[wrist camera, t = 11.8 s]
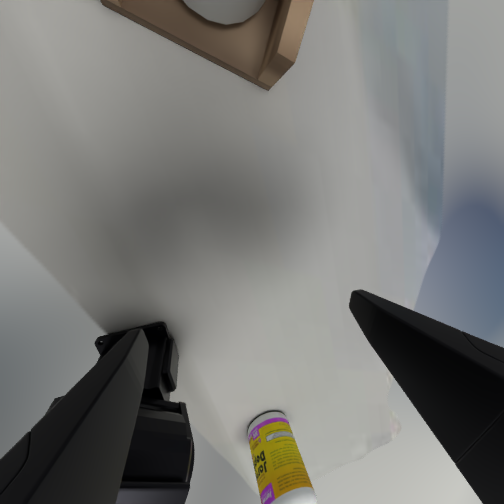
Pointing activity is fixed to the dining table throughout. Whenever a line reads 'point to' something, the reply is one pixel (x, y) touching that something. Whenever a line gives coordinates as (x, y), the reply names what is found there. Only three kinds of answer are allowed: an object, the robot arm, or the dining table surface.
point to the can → (225, 9)
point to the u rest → (229, 34)
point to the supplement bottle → (278, 462)
